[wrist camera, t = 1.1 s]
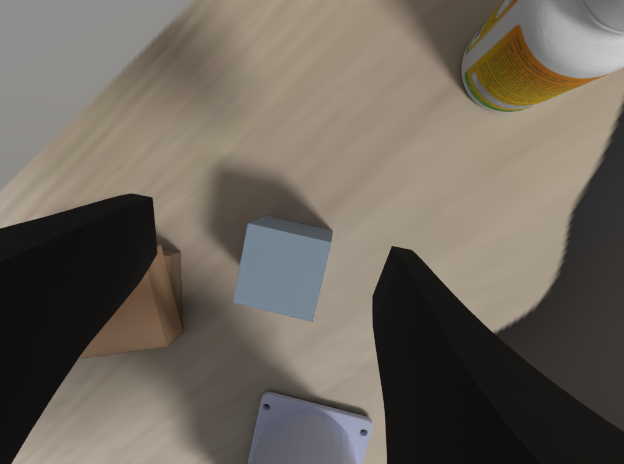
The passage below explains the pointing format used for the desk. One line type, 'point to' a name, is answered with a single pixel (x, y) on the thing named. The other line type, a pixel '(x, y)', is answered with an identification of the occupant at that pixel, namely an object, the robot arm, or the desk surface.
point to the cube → (282, 267)
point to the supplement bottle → (542, 51)
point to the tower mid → (141, 317)
